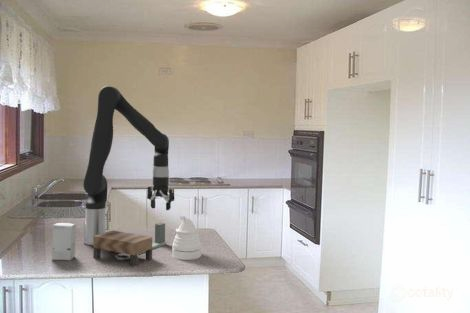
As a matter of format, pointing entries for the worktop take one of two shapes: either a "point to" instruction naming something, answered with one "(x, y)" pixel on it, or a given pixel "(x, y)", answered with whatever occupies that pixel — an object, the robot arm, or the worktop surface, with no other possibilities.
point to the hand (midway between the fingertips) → (160, 209)
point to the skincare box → (63, 241)
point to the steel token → (122, 256)
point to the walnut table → (123, 244)
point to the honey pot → (186, 241)
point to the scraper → (159, 235)
